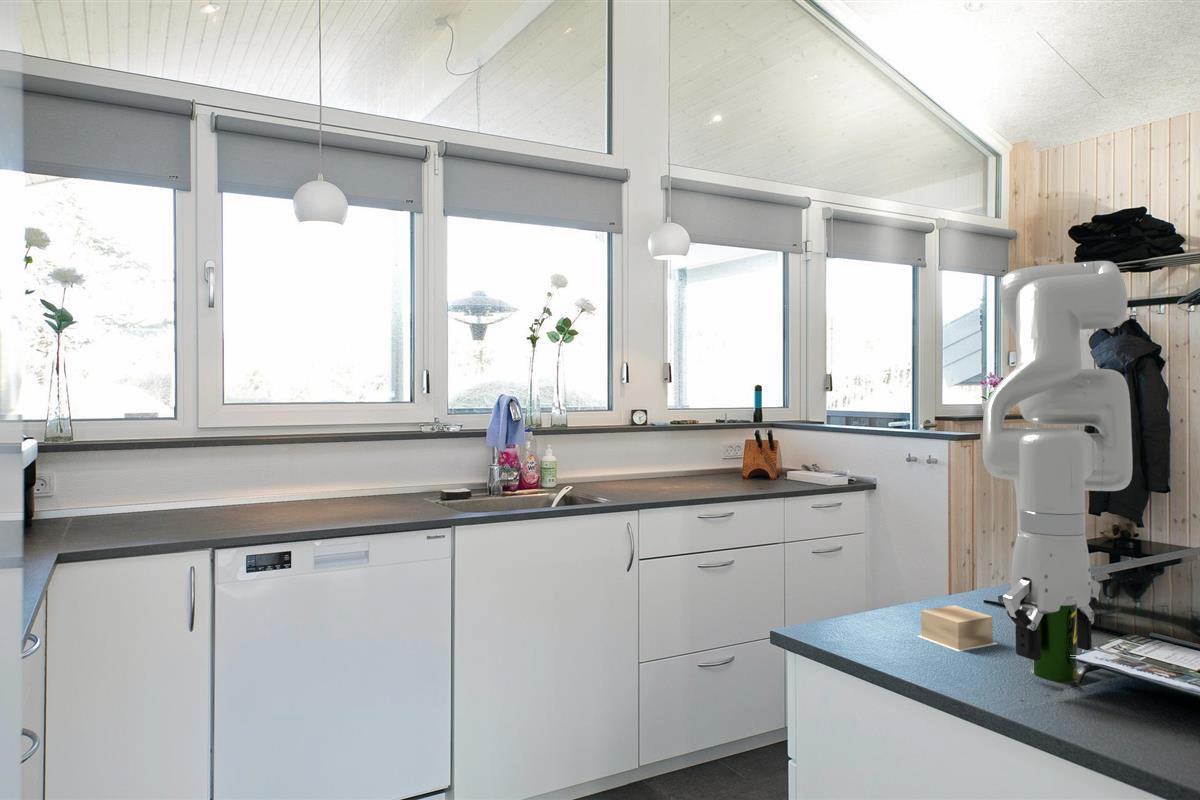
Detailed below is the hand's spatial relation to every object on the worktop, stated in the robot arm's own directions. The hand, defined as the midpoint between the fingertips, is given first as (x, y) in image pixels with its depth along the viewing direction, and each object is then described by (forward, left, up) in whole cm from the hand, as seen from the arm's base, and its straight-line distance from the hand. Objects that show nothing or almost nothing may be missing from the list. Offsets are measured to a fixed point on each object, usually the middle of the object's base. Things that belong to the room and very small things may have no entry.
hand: (1054, 652), depth 102 cm
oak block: (0, -16, -3) cm, 16 cm away
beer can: (0, 0, -4) cm, 4 cm away
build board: (0, -16, -4) cm, 17 cm away
